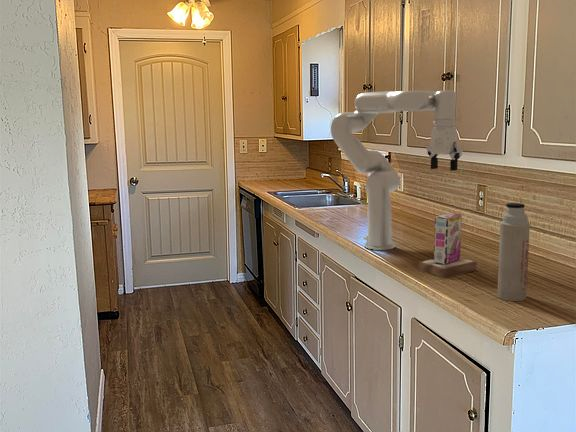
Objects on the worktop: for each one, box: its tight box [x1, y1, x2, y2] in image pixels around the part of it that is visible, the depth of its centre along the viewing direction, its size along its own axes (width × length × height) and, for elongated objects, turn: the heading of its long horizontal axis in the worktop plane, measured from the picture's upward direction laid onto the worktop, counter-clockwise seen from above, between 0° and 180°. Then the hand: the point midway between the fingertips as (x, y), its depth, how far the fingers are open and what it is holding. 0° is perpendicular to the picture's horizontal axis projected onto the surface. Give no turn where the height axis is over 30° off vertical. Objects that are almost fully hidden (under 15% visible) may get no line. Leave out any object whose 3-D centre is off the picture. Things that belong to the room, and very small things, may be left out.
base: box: [417, 257, 478, 279], centre depth 200 cm, size 12×16×3 cm
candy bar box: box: [433, 212, 463, 265], centre depth 199 cm, size 11×5×16 cm, turn 138°
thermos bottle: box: [497, 202, 531, 302], centre depth 167 cm, size 8×8×28 cm
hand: (443, 169), depth 217 cm, fingers open, 9 cm apart
